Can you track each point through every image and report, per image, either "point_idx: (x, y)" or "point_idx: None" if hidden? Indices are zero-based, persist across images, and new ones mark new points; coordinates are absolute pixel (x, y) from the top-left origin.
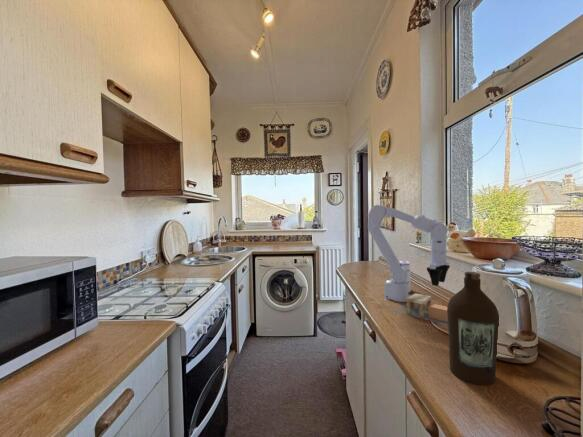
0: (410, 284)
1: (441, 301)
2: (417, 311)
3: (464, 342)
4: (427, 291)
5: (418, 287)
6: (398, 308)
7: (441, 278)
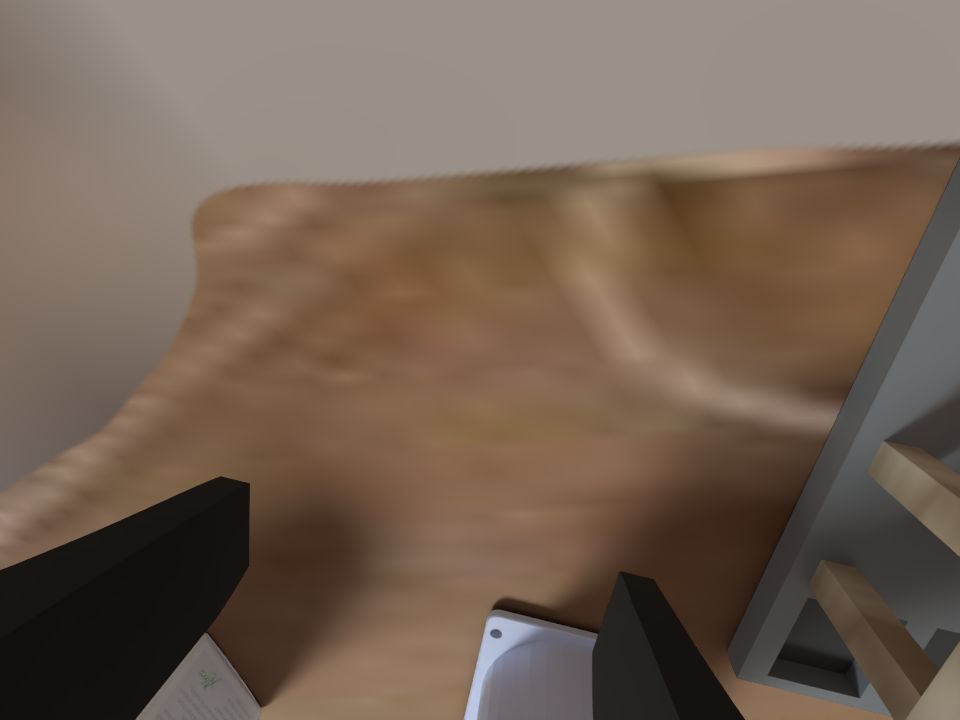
0: (149, 706)
1: (309, 367)
2: (928, 561)
3: None
4: (69, 509)
5: None
6: None
7: (194, 577)
